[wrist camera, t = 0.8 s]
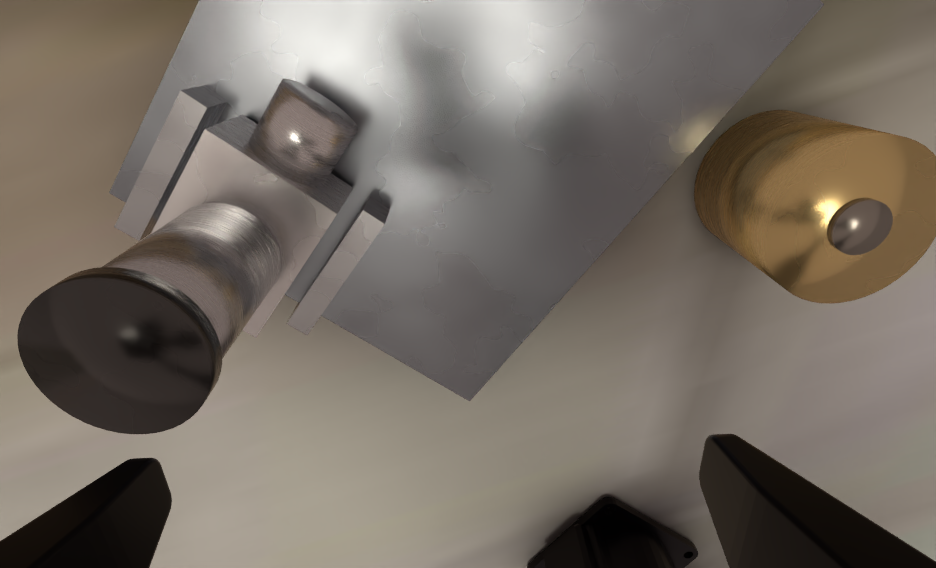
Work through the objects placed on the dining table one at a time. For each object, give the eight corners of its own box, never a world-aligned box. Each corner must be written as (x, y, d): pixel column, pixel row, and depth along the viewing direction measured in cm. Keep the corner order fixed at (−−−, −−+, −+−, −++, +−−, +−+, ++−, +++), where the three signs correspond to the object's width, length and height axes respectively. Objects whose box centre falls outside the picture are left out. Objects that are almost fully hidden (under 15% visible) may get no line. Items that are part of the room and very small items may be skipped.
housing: (859, 165, 19) (993, 208, 15) (754, 267, 21) (844, 336, 16) (771, 79, 18) (886, 96, 13) (666, 195, 20) (735, 247, 15)
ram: (386, 138, 17) (334, 223, 9) (281, 297, 19) (171, 469, 12) (272, 58, 16) (110, 81, 8) (176, 237, 18) (-21, 383, 11)
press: (800, 6, 17) (947, -6, 12) (468, 383, 23) (473, 482, 18) (411, -406, 13) (385, -687, 8) (128, 183, 19) (10, 238, 14)
